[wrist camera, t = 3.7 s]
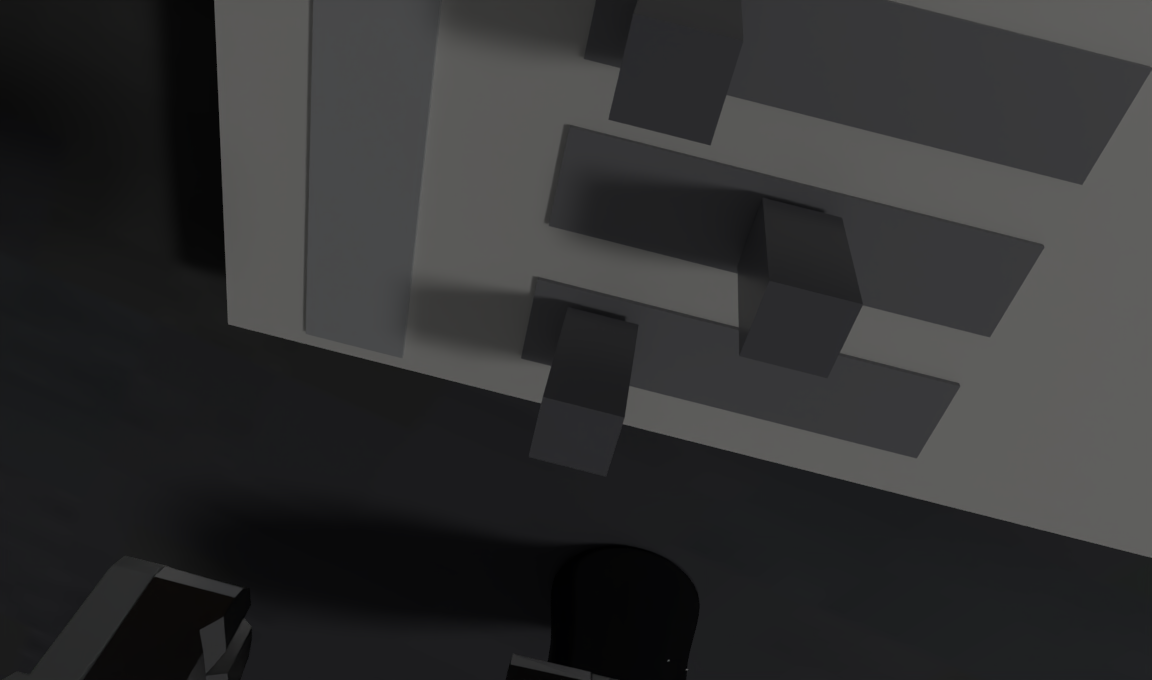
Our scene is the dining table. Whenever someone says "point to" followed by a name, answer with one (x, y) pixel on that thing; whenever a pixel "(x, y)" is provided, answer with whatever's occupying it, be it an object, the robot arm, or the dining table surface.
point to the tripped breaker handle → (796, 289)
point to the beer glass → (623, 615)
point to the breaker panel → (723, 224)
